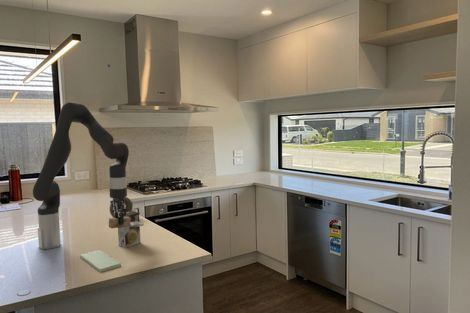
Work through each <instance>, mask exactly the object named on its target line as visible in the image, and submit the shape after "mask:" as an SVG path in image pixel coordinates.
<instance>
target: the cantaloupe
mask: <svg viewBox="0 0 470 313" xmlns="http://www.w3.org/2000/svg"><path fill="white" fill-rule="evenodd" d="M124 202H125V204H127V205H128V207H127V212H130V211H133V202H132V200H131V199H130V198H129V197H128V196H126V197H124ZM109 213H110V215H111V218H115V215H114V213H112V208H111V203H110V204H109Z"/></svg>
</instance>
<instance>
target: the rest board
mask: <svg viewBox="0 0 470 313" xmlns="http://www.w3.org/2000/svg"><path fill="white" fill-rule="evenodd" d="M79 257H80V259H82V260H83V261H84V262H85V263H87V264H89V265H90V266H91V267H92V268H94V269H95V270H96V271H98V273H102V272H105V271H109V270H113V269H115V268H119V267H121V266H122V265H121V264H122V263H121V262H120V261H118V260H116V259H115V258H113V257H111V255H108V254H107V253H106V252H104V251H102V250H100V249H98V250H93V251H90V252H85V253H83V254H80V255H79Z"/></svg>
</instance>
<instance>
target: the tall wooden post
mask: <svg viewBox="0 0 470 313" xmlns="http://www.w3.org/2000/svg"><path fill="white" fill-rule="evenodd" d="M123 218H124V224H123V225H119V224H118V218H113V217H109V219H108V228H109V229H118V228H120V227H139V226H140V227H144V225H145V224H144V223H143V222H140V221H139V222H138V221H137V222H131V218H130V217H123Z"/></svg>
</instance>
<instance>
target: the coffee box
mask: <svg viewBox="0 0 470 313" xmlns="http://www.w3.org/2000/svg"><path fill="white" fill-rule="evenodd" d="M123 217H130V218H131V222H137V221H138V222H140V212H137V211H135V210H132V211H130V212H126V216H123ZM117 233H118V234H117V237H118V238H117V239H118V246H119V247H122V248H125V249H126V248H129V247H133V246H135V245H136V246H137V245H139V244H141V226H139V227H120V228H117Z"/></svg>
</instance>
